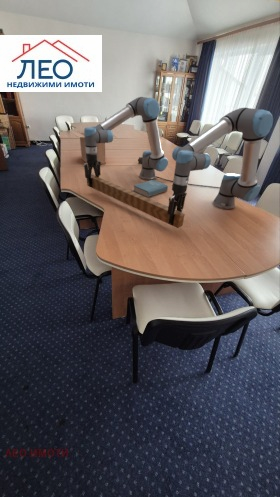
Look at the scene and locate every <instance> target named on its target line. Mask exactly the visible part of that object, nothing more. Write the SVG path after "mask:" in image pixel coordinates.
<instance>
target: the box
mask: <svg viewBox="0 0 280 497" xmlns="http://www.w3.org/2000/svg"><path fill="white" fill-rule="evenodd" d="M70 133H71V134H72V135H74V136H75V137H77V138H79V144H80V153H81V160H83V162H85V164H86V163H87V159H86V148H85V136H84V130H77V132H76V131H70ZM106 158H107V157H106V143H97V161H100V162H101V164H100V165H106V163H107V162H106ZM96 165H97V164H96Z"/></svg>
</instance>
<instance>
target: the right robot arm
mask: <svg viewBox="0 0 280 497" xmlns="http://www.w3.org/2000/svg"><path fill="white" fill-rule="evenodd" d="M273 123H274V117H273V113H272V112H270V111H269V110H266V109H262V108H261V109H258V108H250V107H240V108H237V109H234V110H232V111H229V112H228V113H227V114H225V115H223V116H222V117H220V119H219V120H218V122H217V123H215V124H214V125H212V126H211V127H209V128H208V129H206V130H205V131H203V132H202V133H201V134H200V135H197V137H196V138H194V139H192V140H191V141H190V142H188V143H187V144H185V145H184V146H176V147H174V148H173V150H172V153H171V157H172V160H174V161H175V167H174V174H173V179H172V181H173V182H172V185H171V190H172V192H173V193H172V196H170V197H168V205H167V206H168V213H167V214H169V215H170V217H169V223H167V224H168V225H170V226H172V227H174V226H173V223H174V217H175V215H174V213H175V210H177V211H180V212H182V213H183V210H184V208H185V201H186V196H187V195H188V194H187V190H188V184H189V180H190V174H191V172H194V171H202V170H206V169H208V168H209V167H210V166H211V163H212V158H211V155H209V154H208V153H201V152H203V151H204V150H205V149H207V148H208V147H210V146H211V145H212V144H214V143H215V142H217V141H218V140H219V139H221V138H223V137H224V136H225V135H230V134H231V133H232V132H237V133H238V132H239V133H241V140H242V141H243V153H242V161H241V170H240V174H239V173H233V172H231V173H225V174H223V176H222V179H221V183H220V186H219V187H220V188H218V189H219V190H218V194H216V196H215V198H214V199H213V201H212V205H213V206H215V207H216V208H218V209H222V210H232V209H234V208H235V202H236V198H238V199H240V200H242V201H245V202H253V200H255V199H256V198H257V196H258V195H259V194H260V191H261V186H260V185H259V184H258V181H259V179H258V178H257V177H256V176H257V171H258V164H259V158H260V153H261V145H262V141H263V140H264V139H265V138H266V136H267V135H268V134H269V133H270V131H271V129H272V127H273Z"/></svg>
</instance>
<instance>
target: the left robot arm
mask: <svg viewBox="0 0 280 497" xmlns="http://www.w3.org/2000/svg"><path fill="white" fill-rule="evenodd" d="M160 112H161V106H160V103H159V101H158V100H157V99H156V98H153V97H145V96H138V97H136V98H134V99H133V100H131V101H129V102H128V103H126V104H125V106H124V107H123V108H122V109H120V110H119V111H117V112H116V113H114V114H112V115H111V116H110V117H108V118H107V119H105V120H103V121H102V122H100V123H99V124H97V125H95V126H86V127H84V129H83V131H84V136H85V148H86V159H87V163H86V162H85V163H83V167H84V168H83V169H84V177H85V178H86V179H87V178H88V183H89V186H88V187H89V188H91V189H93V188H92V179H91V174H93V173H92V172H94V176H97V177H99V178H100V176H101V165H102V164H101V162H100V161H97V143H105V144H108V143H109V144H110V143H112V142H113V141H114V134H113V130H114V129H115V128H117V127H119V126H120V125H121V124H123V123H124V122H127V121H128V120H129V119H133V118H135V117H138V116H140V117H141V120H142V123H144V124H145V128H146V133H147V140H148V144H149V148H150V150H144V151H143V152H142V157H143V158H142V164H141V169H140V172H139V178H140V179H142V180H146V181H150V180H156V178H158V179H161V180H163V181H167V182H172V183H174V182H173V180H170V179H166V178H163V177H159V176H157V174H156V171H157V172H163V171H165V170H167V167H168V165H169V159H168V158H167V157H165V152H164V151H163V150H162V144H161V138H160V132H159V127H158V126H159V125H158V119H159V115H160ZM96 164H97V165H96ZM188 185H189V186H196V187H205V188H215V189H220V186H212V185H201V184H195V183H194V184H193V183H188V184H187V186H188Z"/></svg>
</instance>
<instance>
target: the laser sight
mask: <svg viewBox="0 0 280 497" xmlns="http://www.w3.org/2000/svg"><path fill="white" fill-rule="evenodd" d="M142 158H143V156H141V157H140V156H139V157H138V159H137V162H138V164H141V165H142Z"/></svg>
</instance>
